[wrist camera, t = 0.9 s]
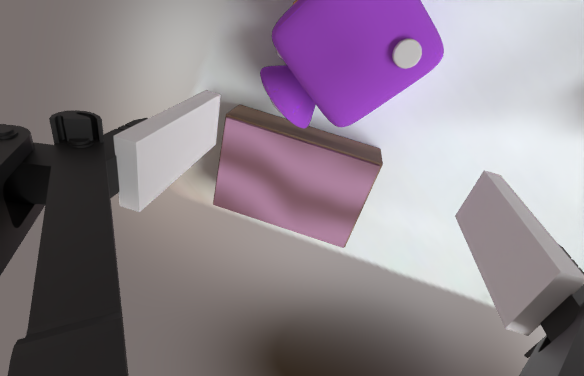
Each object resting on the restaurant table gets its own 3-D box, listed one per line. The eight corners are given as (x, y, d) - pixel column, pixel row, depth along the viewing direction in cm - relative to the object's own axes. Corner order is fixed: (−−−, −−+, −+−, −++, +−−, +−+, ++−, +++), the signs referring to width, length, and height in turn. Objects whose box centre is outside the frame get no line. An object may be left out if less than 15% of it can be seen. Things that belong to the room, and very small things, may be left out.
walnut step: (239, 104, 34) (224, 115, 30) (380, 148, 33) (383, 165, 29) (225, 187, 39) (211, 205, 36) (346, 227, 39) (344, 249, 35)
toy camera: (257, 69, 32) (219, 87, 23) (353, -65, 25) (350, -109, 17) (334, 138, 34) (325, 179, 25) (442, 30, 27) (480, 36, 18)
